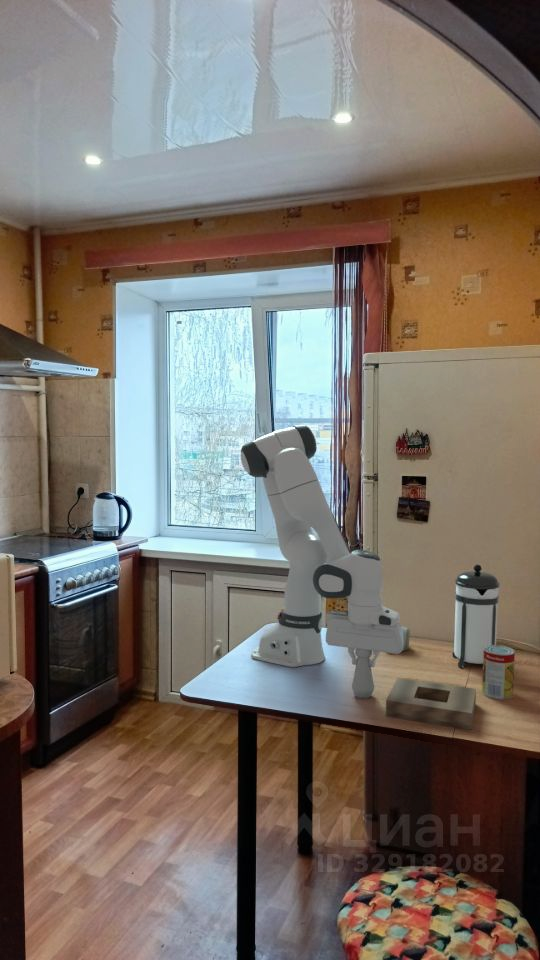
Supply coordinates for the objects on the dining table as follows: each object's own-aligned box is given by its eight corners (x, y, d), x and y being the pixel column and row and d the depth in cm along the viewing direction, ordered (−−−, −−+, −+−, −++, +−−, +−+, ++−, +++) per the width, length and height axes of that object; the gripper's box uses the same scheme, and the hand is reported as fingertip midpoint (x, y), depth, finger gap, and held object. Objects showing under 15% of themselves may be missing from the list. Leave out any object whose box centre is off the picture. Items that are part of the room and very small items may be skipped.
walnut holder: (385, 716, 162) (386, 700, 162) (397, 692, 177) (397, 677, 177) (471, 729, 155) (471, 713, 155) (475, 704, 170) (476, 688, 170)
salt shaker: (373, 700, 171) (374, 651, 170) (351, 698, 172) (351, 649, 172) (374, 692, 177) (375, 644, 176) (352, 690, 178) (353, 642, 177)
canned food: (514, 691, 179) (515, 647, 178) (511, 701, 172) (513, 656, 171) (483, 686, 182) (485, 643, 182) (480, 696, 175) (481, 651, 174)
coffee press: (513, 664, 200) (516, 565, 198) (478, 675, 191) (482, 571, 189) (466, 648, 214) (469, 556, 212) (432, 657, 205) (435, 561, 203)
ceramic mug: (408, 653, 209) (409, 629, 208) (382, 651, 211) (382, 627, 210) (410, 644, 219) (410, 621, 219) (385, 641, 221) (385, 618, 221)
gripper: (322, 612, 174) (322, 663, 175) (401, 620, 167) (400, 674, 168) (329, 606, 180) (328, 656, 181) (405, 614, 173) (404, 666, 174)
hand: (363, 665), depth 174 cm, fingers closed on salt shaker, 3 cm apart
